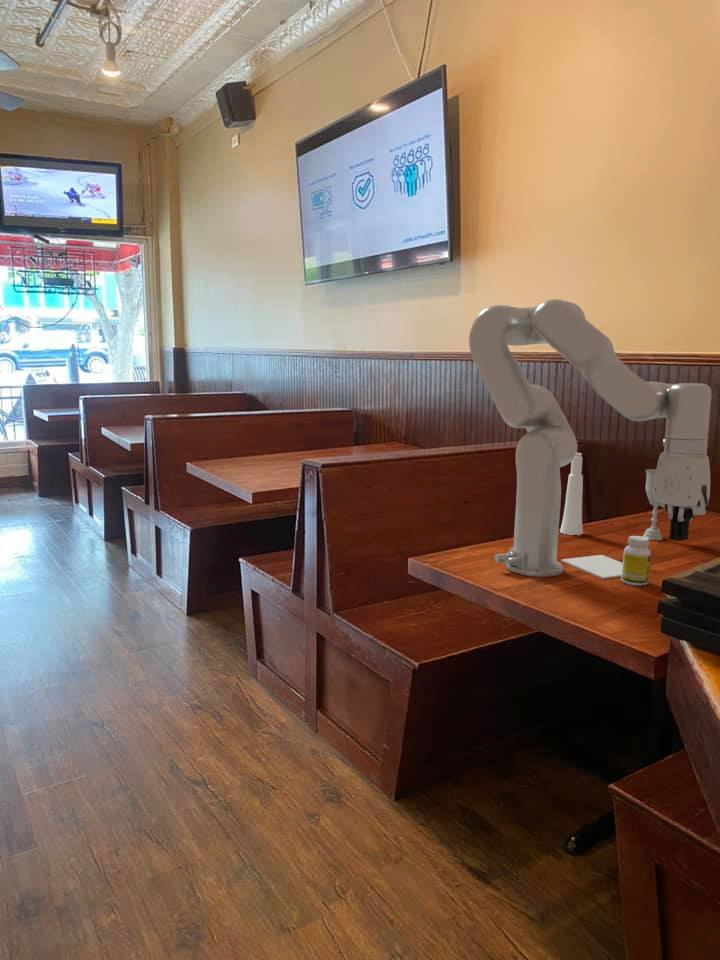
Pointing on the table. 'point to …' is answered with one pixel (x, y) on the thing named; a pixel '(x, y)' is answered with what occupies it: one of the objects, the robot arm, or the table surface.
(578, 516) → the cosmetic bottle
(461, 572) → the table surface
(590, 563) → the mat
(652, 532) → the chalice
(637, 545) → the supplement bottle
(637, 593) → the table surface
